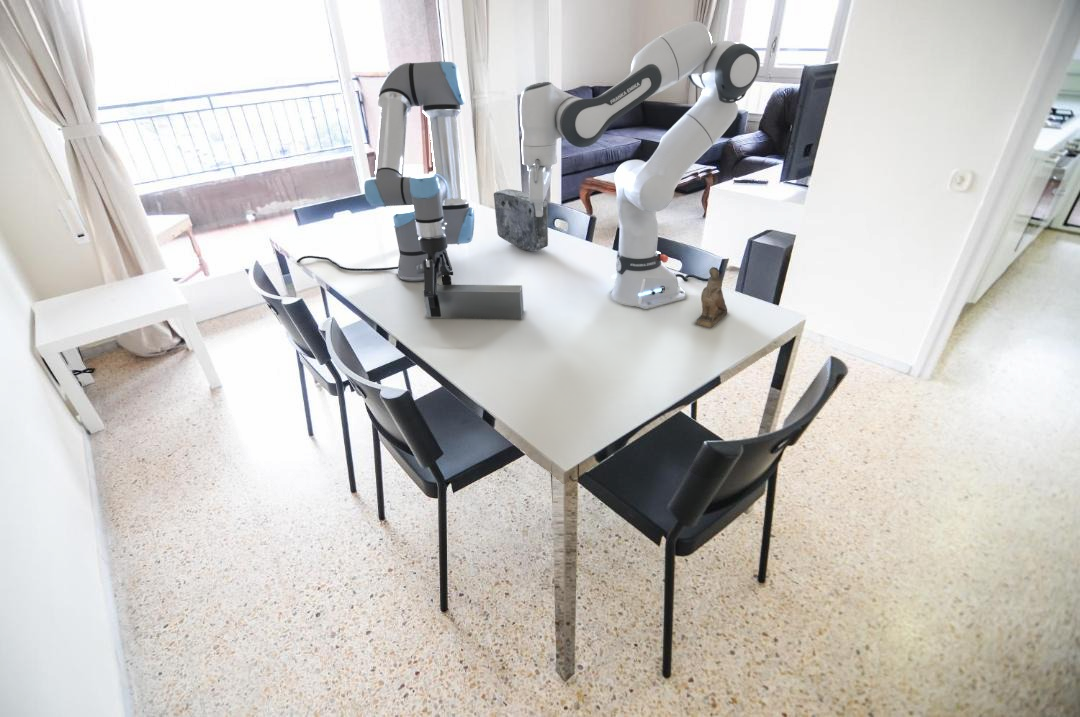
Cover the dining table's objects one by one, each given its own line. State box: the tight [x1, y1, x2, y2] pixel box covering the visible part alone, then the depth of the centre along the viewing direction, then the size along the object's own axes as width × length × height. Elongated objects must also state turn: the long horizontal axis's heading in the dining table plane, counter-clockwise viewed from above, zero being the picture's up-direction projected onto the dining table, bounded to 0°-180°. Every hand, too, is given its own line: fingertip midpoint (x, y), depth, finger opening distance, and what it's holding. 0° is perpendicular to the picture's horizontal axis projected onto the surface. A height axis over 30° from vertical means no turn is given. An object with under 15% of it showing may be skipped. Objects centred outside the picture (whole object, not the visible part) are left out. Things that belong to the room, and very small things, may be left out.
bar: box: [422, 284, 524, 321], centre depth 144 cm, size 28×5×9 cm, turn 84°
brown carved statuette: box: [695, 266, 728, 328], centre depth 135 cm, size 12×6×18 cm, turn 136°
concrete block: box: [493, 188, 549, 252], centre depth 191 cm, size 27×9×20 cm, turn 36°
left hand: (442, 306), depth 146 cm, fingers open, 13 cm apart
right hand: (541, 211), depth 133 cm, fingers open, 8 cm apart
